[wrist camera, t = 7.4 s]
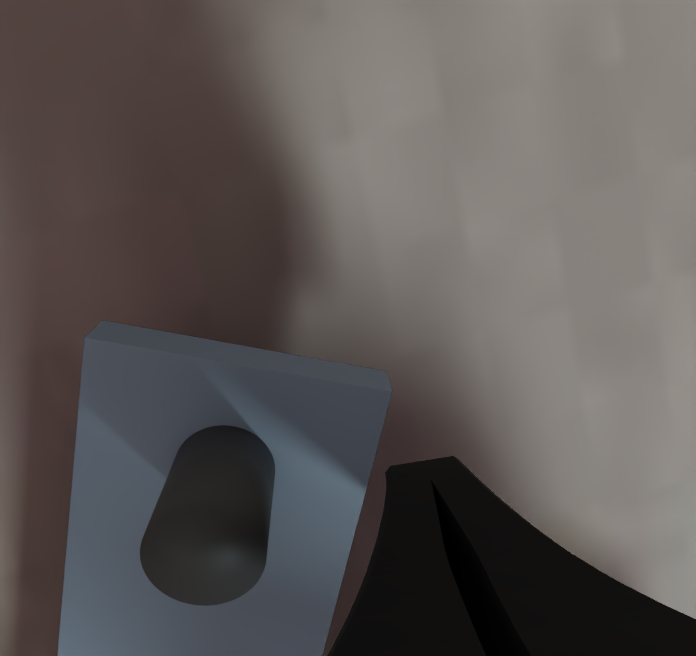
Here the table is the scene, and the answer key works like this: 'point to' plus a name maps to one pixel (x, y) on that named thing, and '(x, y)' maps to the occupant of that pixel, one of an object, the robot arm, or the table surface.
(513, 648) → the robot arm
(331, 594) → the cover
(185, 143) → the table surface
